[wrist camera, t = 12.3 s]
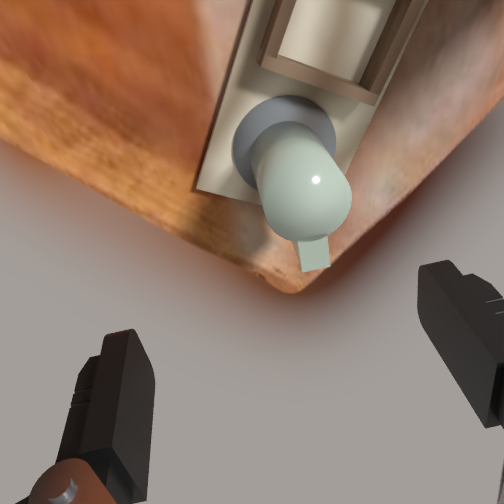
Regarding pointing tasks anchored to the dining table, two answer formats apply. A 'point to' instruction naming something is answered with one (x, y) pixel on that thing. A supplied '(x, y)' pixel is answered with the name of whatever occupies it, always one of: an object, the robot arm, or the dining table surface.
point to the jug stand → (305, 80)
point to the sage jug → (300, 189)
